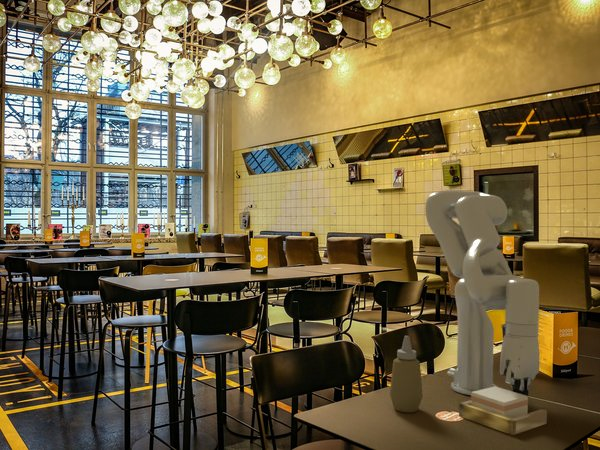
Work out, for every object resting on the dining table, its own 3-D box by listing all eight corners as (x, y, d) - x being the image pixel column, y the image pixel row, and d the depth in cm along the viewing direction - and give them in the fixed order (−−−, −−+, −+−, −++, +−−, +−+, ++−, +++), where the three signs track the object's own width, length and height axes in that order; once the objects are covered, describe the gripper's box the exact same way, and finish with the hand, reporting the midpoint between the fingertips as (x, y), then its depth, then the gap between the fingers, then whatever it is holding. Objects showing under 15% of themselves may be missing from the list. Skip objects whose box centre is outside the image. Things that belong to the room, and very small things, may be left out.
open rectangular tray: (458, 415, 132) (459, 403, 132) (492, 406, 140) (493, 394, 140) (512, 435, 120) (512, 421, 120) (546, 423, 128) (546, 410, 128)
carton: (470, 417, 132) (471, 392, 132) (494, 410, 137) (495, 386, 137) (503, 429, 125) (504, 402, 125) (527, 421, 130) (528, 396, 130)
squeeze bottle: (382, 405, 138) (384, 334, 138) (410, 402, 142) (411, 332, 142) (401, 416, 131) (402, 340, 131) (429, 412, 134) (430, 338, 134)
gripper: (525, 324, 141) (524, 396, 142) (489, 330, 133) (487, 406, 133) (553, 329, 135) (552, 404, 135) (517, 335, 127) (516, 415, 127)
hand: (520, 405), depth 134 cm, fingers closed
